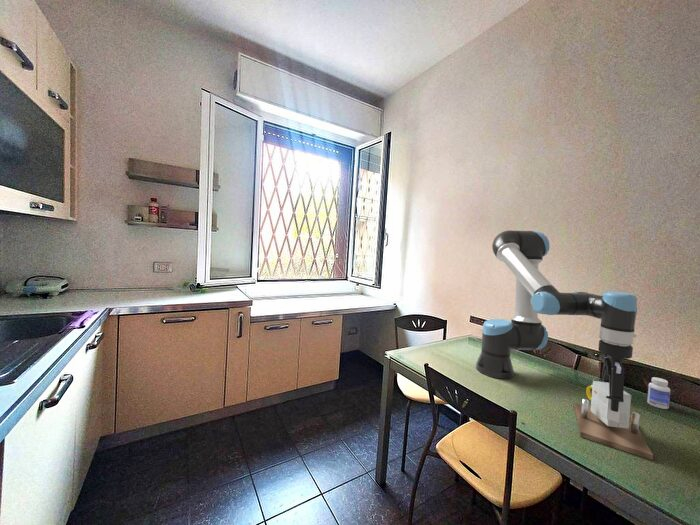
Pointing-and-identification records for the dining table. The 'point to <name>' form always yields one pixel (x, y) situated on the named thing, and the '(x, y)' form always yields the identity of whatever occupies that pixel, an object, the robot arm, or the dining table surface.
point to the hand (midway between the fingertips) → (609, 411)
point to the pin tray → (611, 432)
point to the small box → (600, 405)
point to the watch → (588, 392)
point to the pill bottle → (658, 393)
